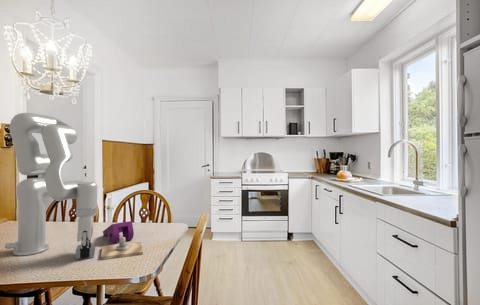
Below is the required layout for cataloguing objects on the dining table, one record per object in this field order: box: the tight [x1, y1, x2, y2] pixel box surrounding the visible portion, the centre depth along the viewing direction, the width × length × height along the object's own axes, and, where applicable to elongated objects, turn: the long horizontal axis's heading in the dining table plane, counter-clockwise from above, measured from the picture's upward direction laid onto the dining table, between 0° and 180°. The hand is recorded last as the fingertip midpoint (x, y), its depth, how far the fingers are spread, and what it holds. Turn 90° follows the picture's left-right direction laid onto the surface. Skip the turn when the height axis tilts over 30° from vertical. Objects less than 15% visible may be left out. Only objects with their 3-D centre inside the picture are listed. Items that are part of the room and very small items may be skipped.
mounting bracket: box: [102, 220, 135, 245], centre depth 135 cm, size 9×8×18 cm
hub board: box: [100, 236, 144, 261], centre depth 117 cm, size 16×14×6 cm
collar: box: [75, 242, 96, 261], centre depth 111 cm, size 6×6×4 cm
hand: (85, 254), depth 111 cm, fingers closed on collar, 6 cm apart
